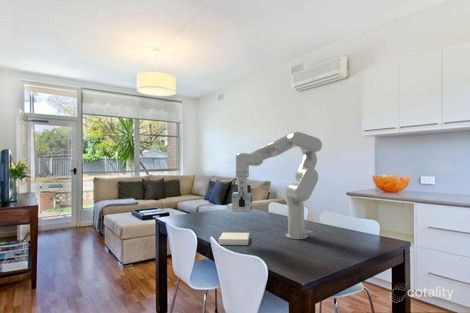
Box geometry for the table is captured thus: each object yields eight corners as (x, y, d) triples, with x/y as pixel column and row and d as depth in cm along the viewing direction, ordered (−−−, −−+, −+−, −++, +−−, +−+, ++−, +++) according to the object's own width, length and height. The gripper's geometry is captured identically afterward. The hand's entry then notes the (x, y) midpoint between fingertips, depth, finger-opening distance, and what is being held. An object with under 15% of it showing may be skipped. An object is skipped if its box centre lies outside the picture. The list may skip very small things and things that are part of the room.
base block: (249, 237, 163) (249, 232, 163) (247, 245, 149) (247, 239, 149) (222, 237, 165) (222, 232, 165) (218, 244, 151) (218, 239, 151)
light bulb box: (252, 210, 158) (252, 192, 158) (250, 213, 152) (250, 193, 152) (234, 210, 161) (234, 191, 161) (231, 212, 154) (231, 192, 154)
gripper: (248, 175, 148) (248, 208, 147) (249, 174, 165) (249, 203, 165) (234, 175, 148) (234, 208, 148) (237, 174, 166) (237, 203, 165)
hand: (242, 205), depth 156 cm, fingers closed on light bulb box, 7 cm apart
